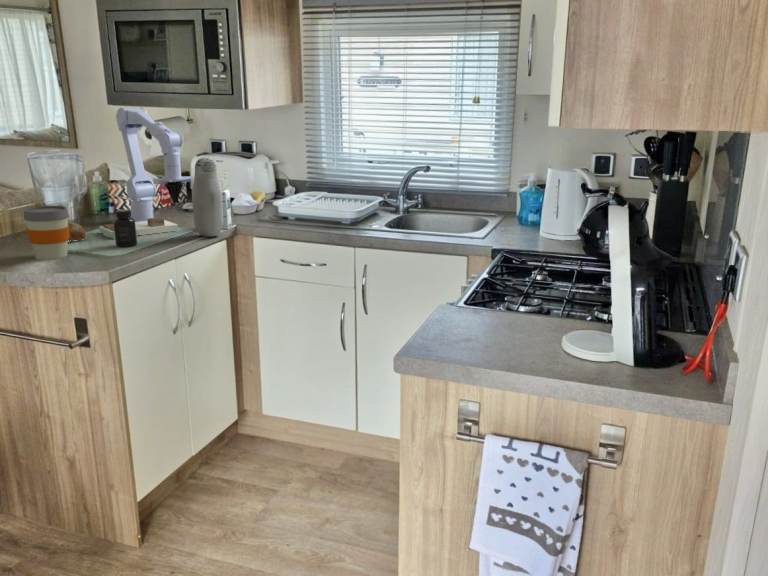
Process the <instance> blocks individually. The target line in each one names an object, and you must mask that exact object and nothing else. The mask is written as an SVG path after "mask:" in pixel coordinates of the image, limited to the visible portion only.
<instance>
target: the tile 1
mask: <svg viewBox="0 0 768 576" xmlns="http://www.w3.org/2000/svg"><path fill="white" fill-rule="evenodd" d="M102 226H103V227H104V228H107V229H109V230H111V231H114V223H107V224H103V225H102Z"/></svg>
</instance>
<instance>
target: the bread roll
mask: <svg viewBox="0 0 768 576" xmlns="http://www.w3.org/2000/svg"><path fill="white" fill-rule="evenodd" d="M68 225H69V241H70V240H71V241H73V240H82V239H85V238H86V237H87V235H86V234H87V233H86V230H85V228H83V226H81V225H80V223H79V224H78V223H76V222H71V221H70V222H69V221H68ZM85 240H86V239H85ZM82 241H83V240H82Z"/></svg>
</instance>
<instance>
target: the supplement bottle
mask: <svg viewBox="0 0 768 576" xmlns="http://www.w3.org/2000/svg"><path fill="white" fill-rule="evenodd" d="M115 217H116V218H114V220H113V224H114V232H115V239H114V241H115V245H116V247H117V248H133V247H136V246H137V245H138V236H136V225H135V220H134V219H133V218H132V217H131V209H117V210H115Z"/></svg>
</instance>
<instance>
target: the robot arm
mask: <svg viewBox="0 0 768 576" xmlns="http://www.w3.org/2000/svg"><path fill="white" fill-rule="evenodd" d="M115 118H116V122H117V127H118V130H119V131H120V132H121V135H122V136H121V137H122V140H123V144H124V145H123V146H124V149H125V154H126V156H127V157H126V158H127V162H128V165H129V170H130V174H131V176H130V177H129V179H127V181H126V182H125V183H126V194H127V197H128V198H129V199H130V201H131V203H130V210H131V217H132V218H133V219H134V220H135V222H141V221H147V219H148V218H155V217H154V209H153V208H154V207H153V200H154V199H155V197H156V195H157V187H156V185H164V186H165V188H166V189H167V191H168V193H169V196H170V198H171V201H172V203H173V204H177V203H179V199H180V194H181V191H182V189H183V186H184V183H193V182H194V176H191V175H190V176H189V175H188V176H187V175H186V176H182V169H181V152H180V148H181V147H182V145H183V139H182V138H183V137H182V135H181V134H180V132H179V131H172V130H171V129H170V128H169V127H167V126H166V125H164V122H162V121H156V122H155V120H154V119H152V118H151V116H150V115H148V111H147V109H145V108H144V107H118V109H117V111H116V114H115ZM143 127H145V128H146V129H148V130H149V131H148V132H149V134H150V135H151V136H152V137H153V138H154V139H156V141H158V143H159V146H160V148H161V152H162V154H163V165H164V176H165V177H159V178H152V177H151V176H150V175H148V174H146V170H145V167H144V161H143V157H142V153H141V149H140V143H139V140H138V136H137V135H138V134H137V133H138V132H139V131H141V130H142V129H143Z"/></svg>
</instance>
